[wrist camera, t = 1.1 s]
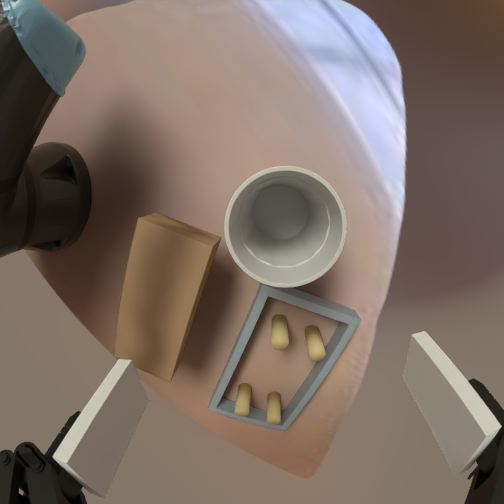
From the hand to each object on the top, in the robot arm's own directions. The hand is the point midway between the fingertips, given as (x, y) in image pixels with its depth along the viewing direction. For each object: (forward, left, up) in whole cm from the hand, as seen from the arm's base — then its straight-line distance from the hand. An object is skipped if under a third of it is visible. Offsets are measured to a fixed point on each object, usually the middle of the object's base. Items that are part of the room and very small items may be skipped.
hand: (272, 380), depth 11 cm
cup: (-1, +5, -20) cm, 21 cm away
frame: (+6, -13, -20) cm, 24 cm away
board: (-9, -7, -16) cm, 19 cm away
